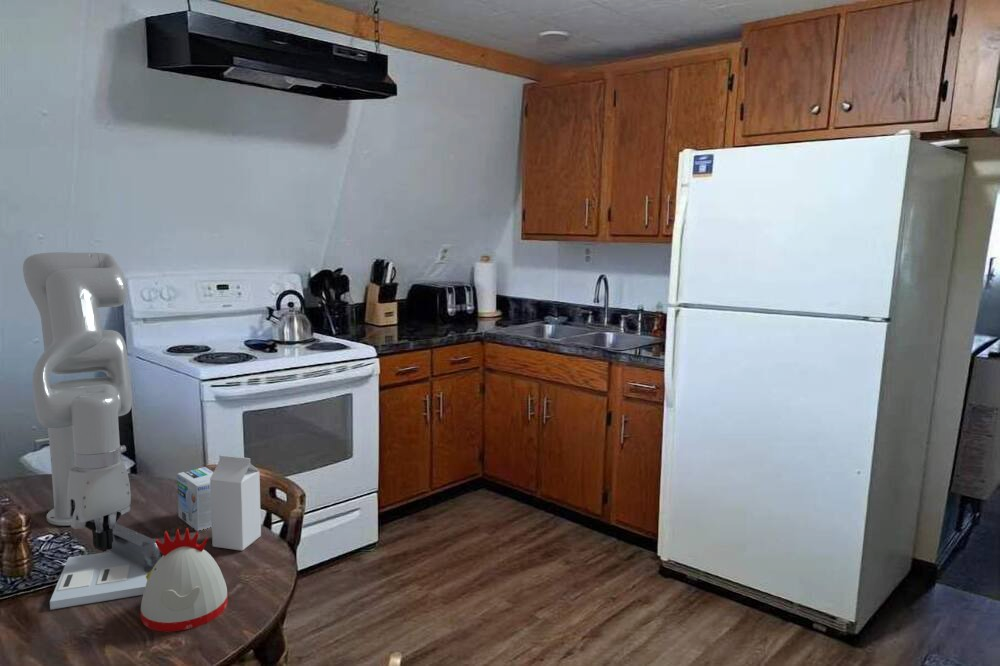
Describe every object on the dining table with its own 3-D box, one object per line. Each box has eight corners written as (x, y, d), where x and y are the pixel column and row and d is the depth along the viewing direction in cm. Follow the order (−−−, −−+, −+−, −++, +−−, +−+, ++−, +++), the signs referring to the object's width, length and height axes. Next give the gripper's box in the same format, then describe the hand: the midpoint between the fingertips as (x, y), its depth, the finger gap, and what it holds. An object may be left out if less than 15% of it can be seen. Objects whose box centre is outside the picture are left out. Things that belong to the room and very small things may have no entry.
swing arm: (119, 545, 138) (117, 521, 137) (164, 566, 130) (163, 541, 129) (104, 551, 135) (102, 526, 135) (149, 573, 127) (148, 547, 127)
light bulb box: (177, 517, 156) (175, 472, 154) (206, 509, 161) (205, 465, 159) (197, 532, 149) (195, 485, 147) (227, 523, 154) (225, 478, 152)
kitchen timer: (146, 595, 123) (142, 517, 121) (227, 583, 128) (225, 508, 126) (136, 638, 111) (131, 552, 108) (226, 623, 116) (224, 541, 113)
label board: (68, 564, 133) (68, 556, 133) (153, 552, 139) (153, 544, 139) (50, 609, 118) (49, 600, 118) (146, 593, 124) (146, 584, 123)
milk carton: (242, 551, 141) (240, 464, 138) (212, 547, 142) (209, 460, 139) (261, 536, 148) (259, 453, 145) (232, 532, 149) (229, 450, 146)
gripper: (124, 444, 137) (129, 530, 140) (45, 465, 124) (52, 558, 127) (147, 451, 133) (151, 539, 136) (67, 473, 121) (74, 569, 123)
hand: (103, 548), depth 132 cm, fingers closed
